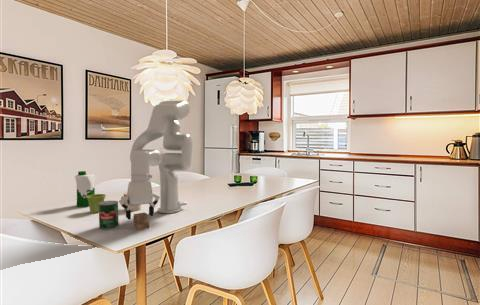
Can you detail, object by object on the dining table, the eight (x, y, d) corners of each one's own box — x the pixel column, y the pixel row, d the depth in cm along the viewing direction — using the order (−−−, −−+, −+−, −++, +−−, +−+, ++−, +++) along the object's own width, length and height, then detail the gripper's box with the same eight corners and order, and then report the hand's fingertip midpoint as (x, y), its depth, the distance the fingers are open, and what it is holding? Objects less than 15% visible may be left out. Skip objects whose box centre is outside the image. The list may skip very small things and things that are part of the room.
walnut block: (144, 225, 127) (144, 212, 127) (148, 228, 123) (148, 214, 123) (133, 227, 124) (133, 214, 124) (137, 230, 120) (137, 216, 120)
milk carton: (84, 203, 170) (83, 170, 169) (98, 204, 168) (97, 170, 167) (73, 206, 161) (72, 172, 160) (87, 207, 159) (87, 172, 158)
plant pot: (98, 214, 145) (97, 197, 145) (82, 213, 147) (82, 197, 147) (110, 209, 154) (109, 194, 154) (95, 209, 156) (94, 193, 156)
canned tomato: (115, 223, 130) (114, 199, 130) (121, 227, 125) (120, 202, 124) (96, 226, 125) (96, 202, 125) (102, 230, 119) (101, 205, 119)
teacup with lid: (144, 208, 158) (144, 187, 158) (134, 212, 150) (134, 190, 149) (126, 206, 162) (126, 186, 161) (115, 210, 153) (115, 189, 153)
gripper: (156, 176, 131) (156, 212, 131) (117, 178, 120) (117, 218, 120) (162, 178, 125) (162, 216, 125) (121, 180, 114) (121, 222, 114)
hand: (140, 217), depth 123 cm, fingers open, 9 cm apart
